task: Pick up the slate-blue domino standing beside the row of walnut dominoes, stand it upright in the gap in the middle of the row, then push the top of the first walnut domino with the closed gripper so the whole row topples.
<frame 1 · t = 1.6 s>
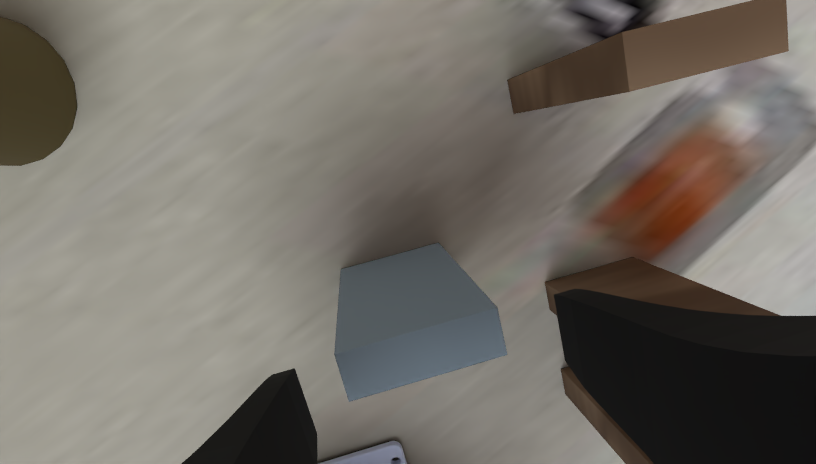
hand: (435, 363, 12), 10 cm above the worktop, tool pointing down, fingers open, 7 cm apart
cork: (1, 93, 18), on the worktop
domino 4: (559, 84, 21), on the worktop
domino 1: (604, 368, 25), on the worktop
domino 3: (394, 270, 22), on the worktop
domino 2: (591, 283, 23), on the worktop
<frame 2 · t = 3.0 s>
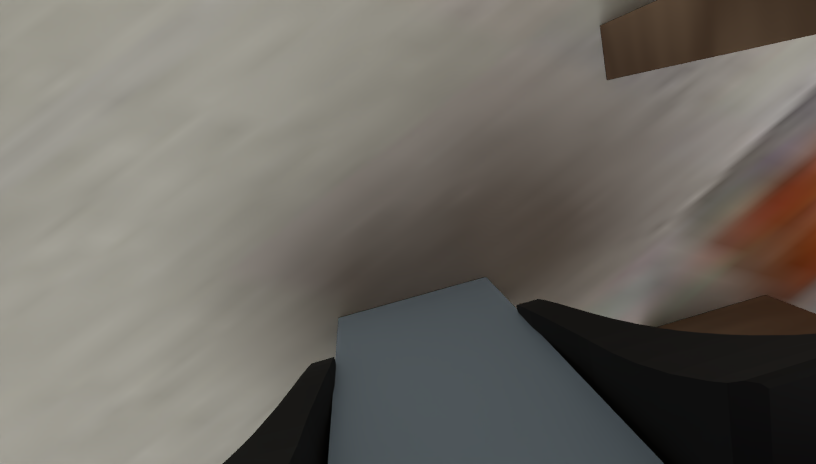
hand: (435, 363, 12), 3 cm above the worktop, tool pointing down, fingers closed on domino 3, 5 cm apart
domino 4: (679, 34, 14), on the worktop
domino 3: (418, 319, 14), on the worktop, touching gripper
domino 2: (704, 333, 16), on the worktop
when the fingers open (4 cm above the worktop, at t = 7.0 s): domino 3 drops 1 cm, on the worktop.
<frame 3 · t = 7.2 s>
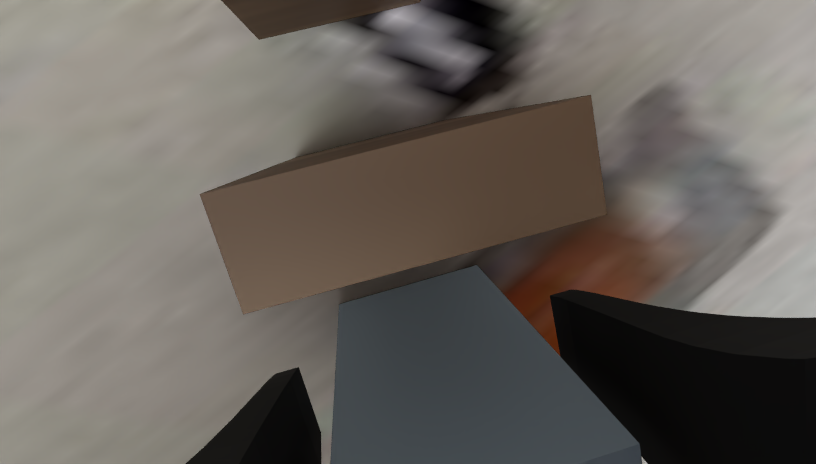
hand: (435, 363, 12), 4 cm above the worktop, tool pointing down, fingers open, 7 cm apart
domino 4: (377, 163, 14), on the worktop
domino 3: (414, 304, 16), on the worktop
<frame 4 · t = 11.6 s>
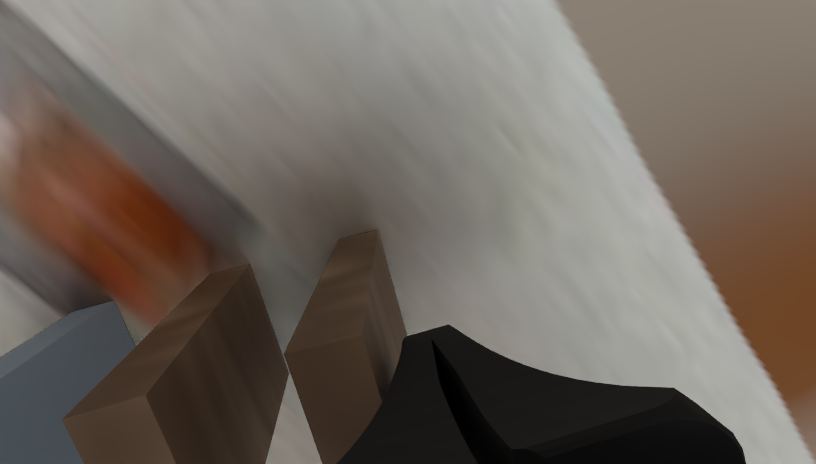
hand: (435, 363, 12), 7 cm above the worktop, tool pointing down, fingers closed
domino 1: (374, 291, 18), on the worktop, tilted 6°
domino 3: (119, 362, 17), on the worktop
domino 2: (250, 326, 18), on the worktop
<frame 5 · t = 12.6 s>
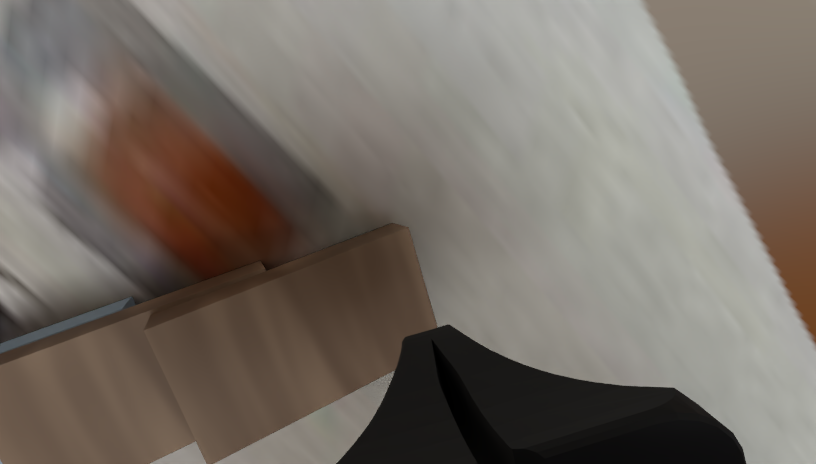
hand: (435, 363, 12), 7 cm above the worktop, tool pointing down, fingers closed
domino 1: (417, 283, 17), point 1 cm above the worktop, tilted 72°, touching domino 2
domino 3: (155, 360, 17), point 1 cm above the worktop, tilted 75°, touching domino 2, domino 4
domino 2: (284, 323, 17), point 1 cm above the worktop, tilted 72°, touching domino 1, domino 3
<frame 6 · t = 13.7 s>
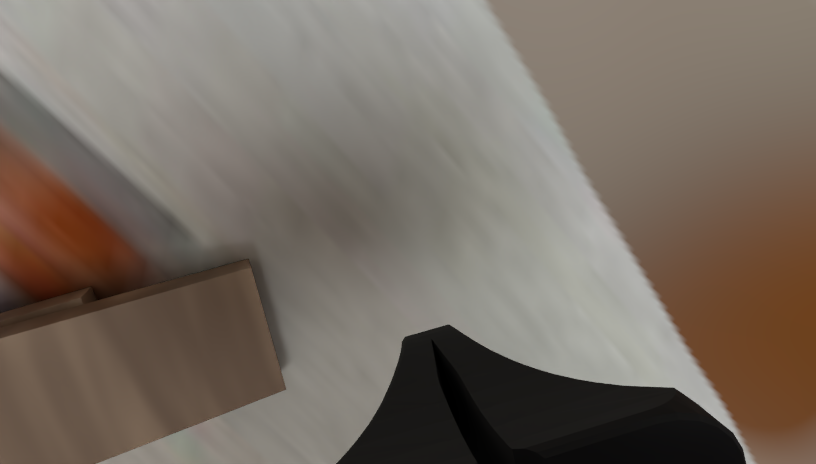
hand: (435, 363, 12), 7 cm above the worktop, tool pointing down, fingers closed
domino 1: (267, 323, 17), point 1 cm above the worktop, tilted 73°, touching domino 2
domino 2: (111, 352, 17), point 1 cm above the worktop, tilted 72°, touching domino 1, domino 3
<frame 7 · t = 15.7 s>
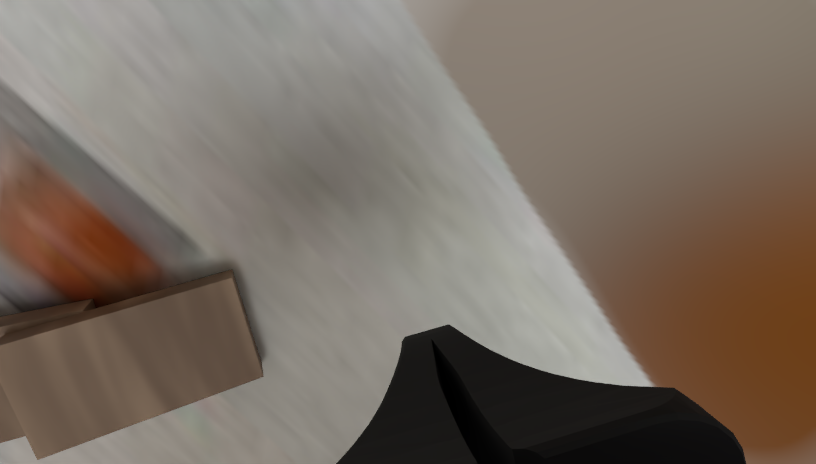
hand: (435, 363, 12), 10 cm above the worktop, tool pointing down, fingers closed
domino 1: (247, 322, 21), point 1 cm above the worktop, tilted 75°, touching domino 2
domino 2: (102, 354, 20), point 1 cm above the worktop, tilted 74°, touching domino 1, domino 3
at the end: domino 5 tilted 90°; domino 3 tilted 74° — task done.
